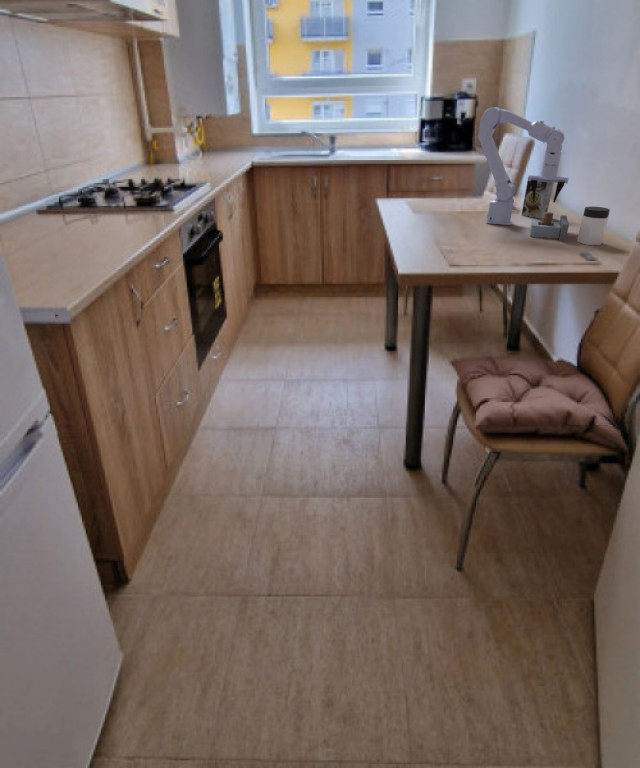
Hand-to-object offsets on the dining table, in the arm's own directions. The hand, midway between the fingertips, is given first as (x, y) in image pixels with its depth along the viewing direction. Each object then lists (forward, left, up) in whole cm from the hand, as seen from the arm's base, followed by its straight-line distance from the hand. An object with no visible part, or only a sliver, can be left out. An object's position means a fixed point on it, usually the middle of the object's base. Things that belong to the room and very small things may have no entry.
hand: (543, 201), depth 226 cm
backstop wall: (+8, -14, -10) cm, 19 cm away
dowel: (+2, -14, -10) cm, 17 cm away
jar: (+17, -21, -10) cm, 29 cm away
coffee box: (-2, +22, -10) cm, 24 cm away
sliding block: (+2, -14, -10) cm, 17 cm away
